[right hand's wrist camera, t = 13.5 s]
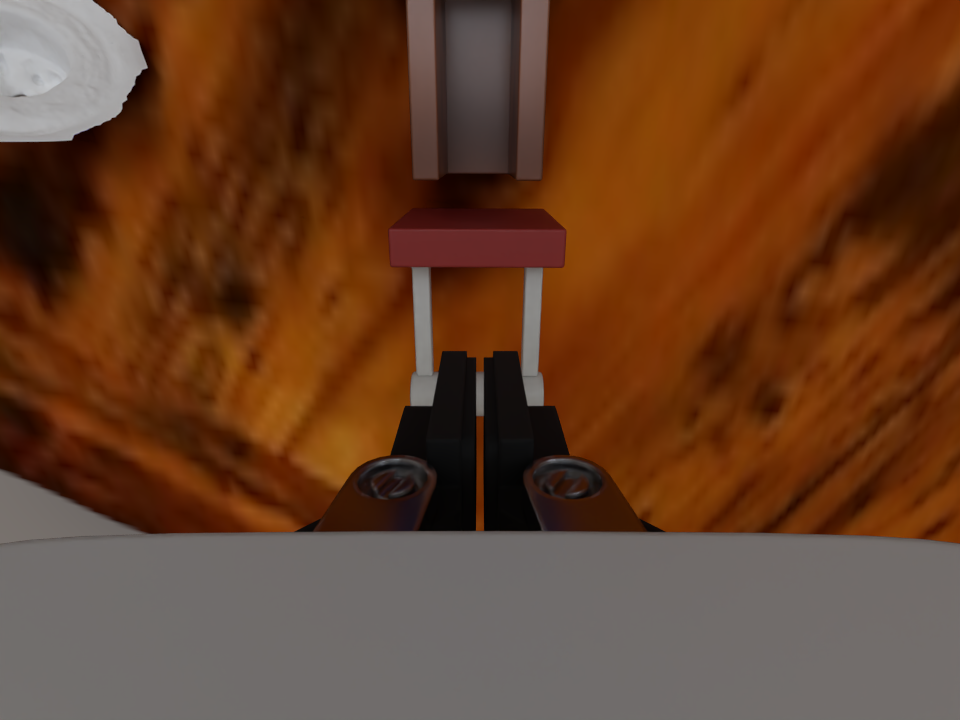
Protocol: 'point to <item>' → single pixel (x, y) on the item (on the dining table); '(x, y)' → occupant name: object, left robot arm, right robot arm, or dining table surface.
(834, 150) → the dining table surface
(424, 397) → the drawer
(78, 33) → the seashell
